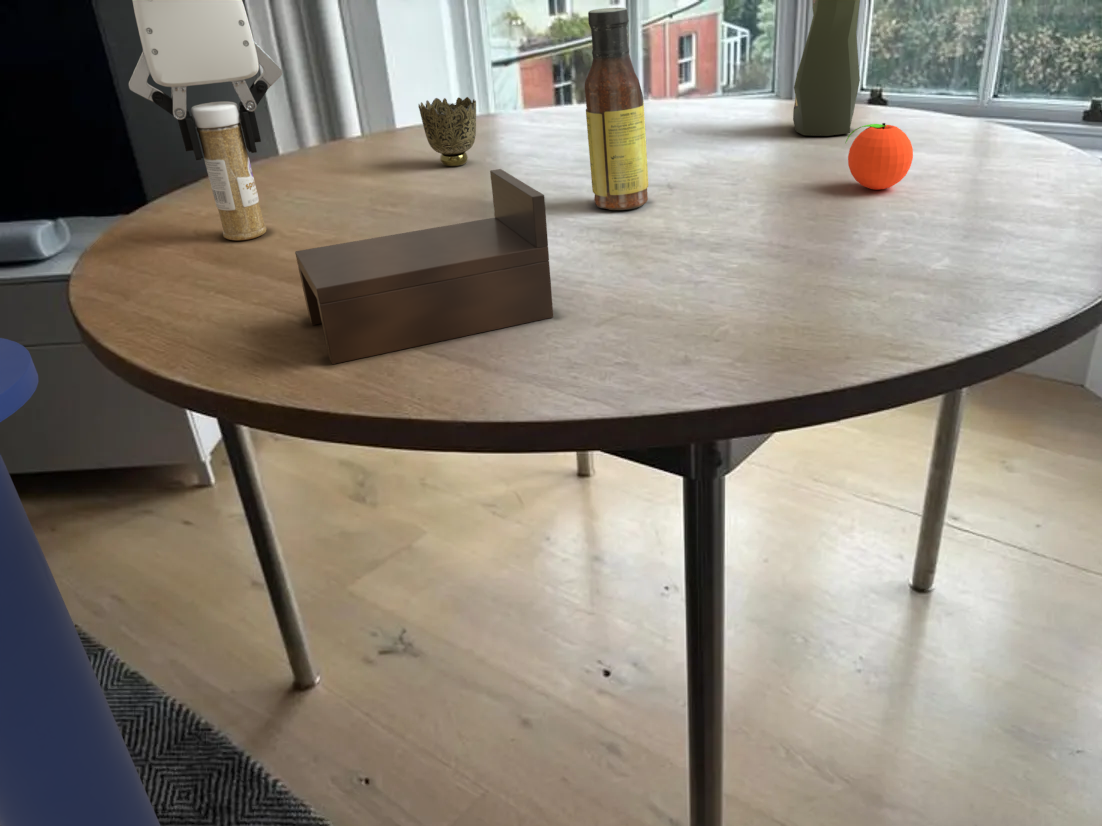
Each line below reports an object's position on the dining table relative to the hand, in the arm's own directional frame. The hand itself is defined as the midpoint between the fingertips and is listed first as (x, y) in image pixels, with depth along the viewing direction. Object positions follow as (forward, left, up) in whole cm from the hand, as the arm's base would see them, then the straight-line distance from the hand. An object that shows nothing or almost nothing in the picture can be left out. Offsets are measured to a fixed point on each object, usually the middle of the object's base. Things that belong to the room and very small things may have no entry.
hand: (225, 152), depth 96 cm
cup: (+29, +18, -9) cm, 35 cm away
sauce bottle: (+39, -12, -9) cm, 42 cm away
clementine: (+66, -22, -9) cm, 70 cm away
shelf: (+11, -34, -9) cm, 37 cm away
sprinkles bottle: (0, 0, -9) cm, 9 cm away
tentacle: (+79, +5, -9) cm, 80 cm away
